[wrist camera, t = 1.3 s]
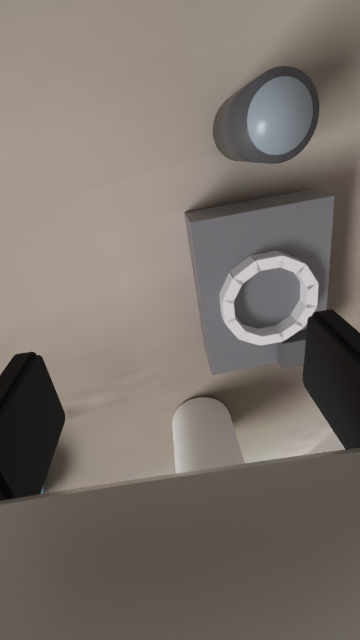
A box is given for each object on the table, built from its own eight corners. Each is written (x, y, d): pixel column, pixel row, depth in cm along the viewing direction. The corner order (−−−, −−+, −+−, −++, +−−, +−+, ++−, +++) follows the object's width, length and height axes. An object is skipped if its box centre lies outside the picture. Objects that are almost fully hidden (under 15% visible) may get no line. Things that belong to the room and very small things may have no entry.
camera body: (184, 212, 30) (192, 226, 24) (307, 189, 30) (345, 198, 24) (205, 349, 37) (214, 384, 32) (303, 331, 37) (331, 363, 31)
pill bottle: (237, 399, 42) (276, 512, 28) (219, 440, 45) (246, 558, 32) (180, 390, 40) (193, 506, 27) (165, 434, 44) (171, 554, 31)
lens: (209, 99, 26) (236, 74, 18) (269, 88, 26) (323, 57, 18) (216, 165, 28) (242, 170, 20) (270, 155, 28) (318, 156, 20)
